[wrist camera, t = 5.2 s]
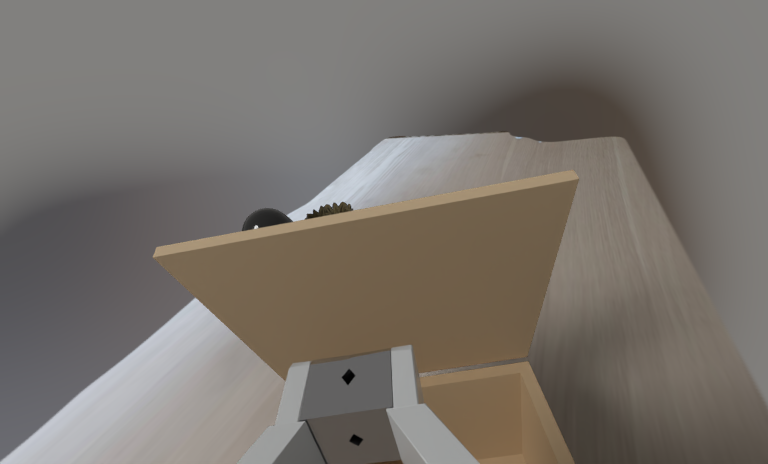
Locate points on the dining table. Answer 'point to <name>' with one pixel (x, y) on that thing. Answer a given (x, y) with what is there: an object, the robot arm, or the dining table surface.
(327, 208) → the cup
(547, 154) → the dining table surface
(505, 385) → the carton
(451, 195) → the lid
